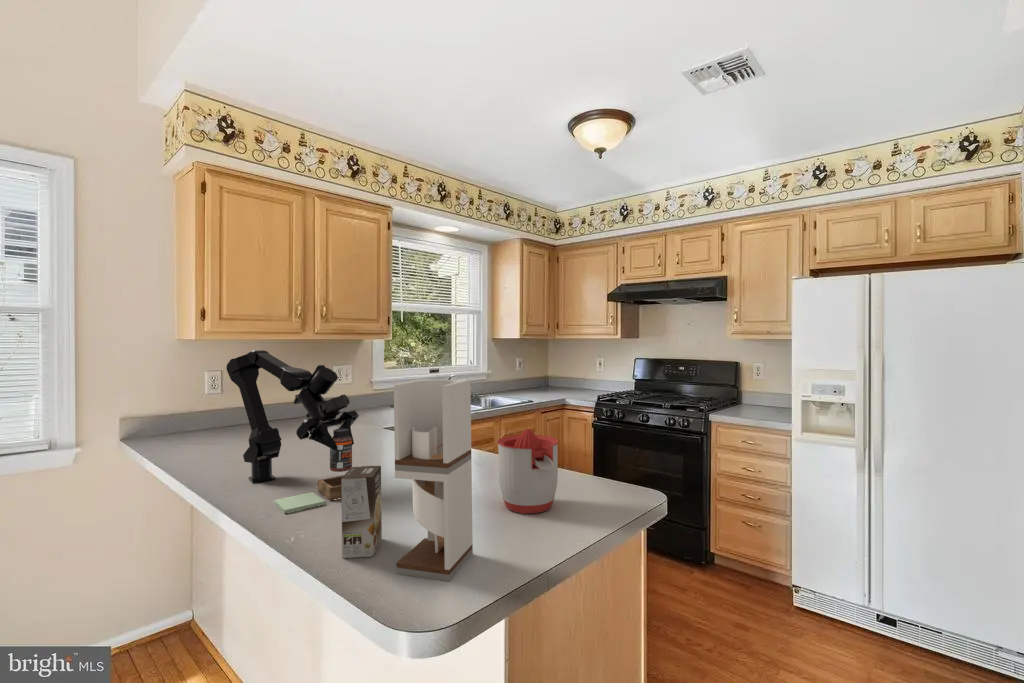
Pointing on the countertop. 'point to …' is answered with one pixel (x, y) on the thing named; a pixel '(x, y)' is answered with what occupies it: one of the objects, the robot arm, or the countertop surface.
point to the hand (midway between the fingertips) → (344, 446)
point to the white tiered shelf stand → (436, 472)
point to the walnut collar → (330, 487)
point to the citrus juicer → (528, 471)
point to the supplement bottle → (341, 451)
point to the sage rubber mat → (298, 502)
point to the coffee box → (361, 511)
